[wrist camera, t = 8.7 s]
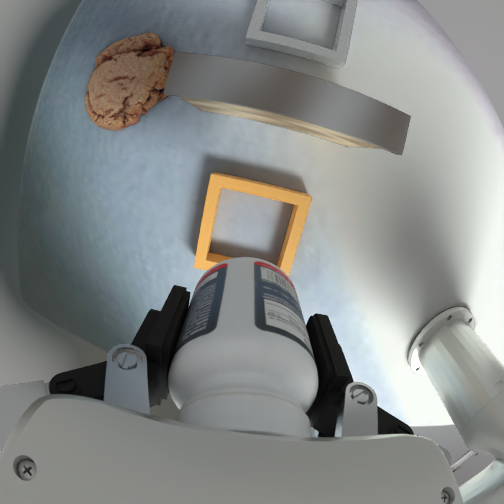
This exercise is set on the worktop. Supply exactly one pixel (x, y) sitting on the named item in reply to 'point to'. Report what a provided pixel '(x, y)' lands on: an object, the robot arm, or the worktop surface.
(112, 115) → the cookie
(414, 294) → the worktop surface
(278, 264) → the collar
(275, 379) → the pill bottle
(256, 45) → the collar
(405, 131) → the beige brown upright block
